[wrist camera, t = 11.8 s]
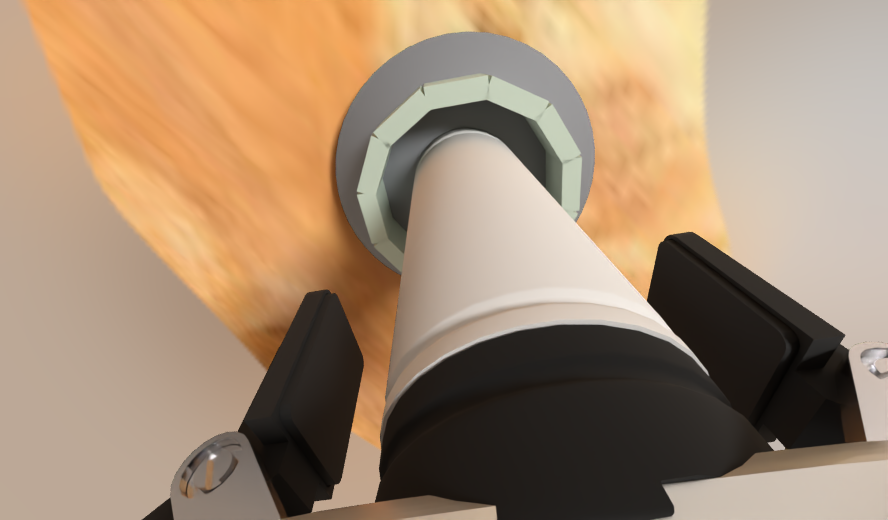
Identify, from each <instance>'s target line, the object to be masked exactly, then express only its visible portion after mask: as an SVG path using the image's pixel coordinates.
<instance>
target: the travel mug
mask: <svg viewBox="0 0 888 520" xmlns="http://www.w3.org/2000/svg"><path fill="white" fill-rule="evenodd" d="M385 400H386V405H385V409H384V414H383V419H382V425H381V433H380V441H381V457H380V465H379V472H380V479H381V482H380V484H379V488H378V492H377V496H376V500H375V503H376V502H383V501H389V500H397V499H404V498H412V497H419V496H427V495H431V496H435V497H440V498H445V499H449V500H453V501H460V502H469V503H478V504H486V505H493V506H496V514H497V520H654V519H660V518H665V517H671V516H672V515H673V514H674V505H673V503H672V501H671V500H670V498H669V496H668V494H667V493H666V491H665V489H664V487H663V485H662V484H667V483H675V482H682V481H690V480H698V479H707V478H715V477H722V476H723V475H725V474H727V473H729V472H731V471H733V470H734V469H736V468H739V467H741V466H743V465H744V463H745V462H747V461H748V460H749V459H750V458H751V457H752V456H753V455H754V454H755V453H761V452H770V451H774V450H773V449H772V448H771V447H770V445H769V444H768V443H767V442H766V441H765V440H764V438H763V437H762V436H761V435H760V434H759V433H758V431H757V430H756V429H755V428H754V427H753V426H752V424H751V423H750V422H749V421H748V420H747V419H746V418H745V416H743V415H742V414H740V413H739V412H737V411H735V410H734V409H732V406H731V403H730V402H729V400H728V399H727V398H726V396H725V395H724V394H723V393H722V391H721V390H720V389H719V388H718V386H717V385H716V384H715V383H714V381H713V380H712V379H711V378H710V377H709V374H708V371H707V370H706V369H705V367H704V366H703V365H702V364H701V362H700V361H699V360H698V358H697V357H696V356H695V355H694V353H693V352H692V351H691V350H690V349H689V348H688V347H687V345H686V344H685V343H684V342H683V341H682V340H681V339H680V338H679V337H678V336H676V335H675V334H674V333H673V332H672V330H671V329H670V328H669V327H668V325H667V324H666V323H665V322H664V320H663V319H662V318H661V317H660V316H659V314H658V313H657V312H656V311H655V310H654V309H653V308H652V307H651V306H650V304H649V303H648V302H647V301H646V300H645V299H644V298H643V297H642V296H641V294H640V293H639V292H638V291H637V290H636V289H635V288H634V287H633V286H632V284H631V283H630V282H629V281H628V280H627V279H626V278H625V277H624V276H623V274H622V273H621V272H620V271H619V270H618V269H617V268H616V267H615V266H614V265H613V263H612V262H611V261H610V260H609V259H608V258H607V257H606V256H605V255H604V253H603V252H602V251H601V250H600V249H599V248H598V247H597V246H596V245H595V243H594V242H593V241H592V240H591V239H590V238H589V237H588V236H587V235H586V233H585V232H584V231H583V230H582V229H581V228H580V227H579V226H578V225H577V223H576V222H575V221H574V220H573V219H572V218H571V217H570V216H569V215H568V213H567V212H566V211H565V210H564V209H563V208H562V207H561V206H560V205H559V204H558V202H557V201H556V200H555V199H554V198H553V197H552V196H551V195H550V194H549V192H548V191H547V190H546V189H545V188H544V187H543V186H542V185H541V184H540V182H539V181H538V180H537V179H536V178H535V177H534V176H533V175H532V174H531V172H530V171H529V170H528V169H527V168H526V167H525V166H524V165H523V164H522V162H521V161H520V160H519V159H518V158H517V157H516V156H515V155H514V154H513V152H512V151H511V150H510V149H509V148H508V147H507V146H506V145H505V144H504V143H503V141H502V140H500V139H499V138H498V137H496V136H495V135H494V134H492V133H490V132H488V131H486V130H482V129H478V128H471V127H463V128H457V129H452V130H450V131H447V132H445V133H443V134H441V135H440V136H438V137H437V138H435V139H434V140H433V141H432V142H431V143H430V144H429V145H428V146H427V147H426V148H425V150H424V151H423V153H422V154H421V156H420V158H419V161H418V163H417V166H416V171H415V177H414V185H413V192H412V200H411V207H410V215H409V222H408V230H407V237H406V245H405V252H404V260H403V267H402V275H401V282H400V290H399V297H398V305H397V313H396V320H395V328H394V335H393V343H392V350H391V358H390V365H389V373H388V380H387V388H386V395H385Z"/></svg>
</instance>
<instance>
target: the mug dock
mask: <svg viewBox="0 0 888 520" xmlns="http://www.w3.org/2000/svg"><path fill="white" fill-rule="evenodd" d="M463 127H471V128H478V129H482V130H486V131H488V132H490V133H492V134H494V135H495V136H496V137H498V138H499V139H500V140H502V141H503V143H504V144H505V145H506V146H507V147H508V148H509V149H510V150H511V151H512V152H513V154H514V155H515V156H516V157H517V158H518V159H519V160H520V161H521V162H522V164H523V165H524V166H525V167H526V168H527V169H528V170H529V171H530V172H531V174H532V175H533V176H534V177H535V178H536V179H537V180H538V181H539V182H540V184H541V185H542V186H543V187H544V188H545V189H546V190H547V191H548V192H549V194H550V195H551V196H552V197H553V198H554V199H555V200H556V201H557V202H558V204H559V205H560V206H561V207H562V208H563V209H564V210H565V211H566V212H567V213H568V215H569V216H570V217H571V218H572V219H573V220H574V221H575V222H577V220H578V218H579V216H580V214H581V212H582V210H583V208H584V205H585V203H586V200H587V198H588V195H589V191H590V187H591V184H592V179H593V172H594V164H595V146H594V139H593V131H592V127H591V123H590V120H589V116H588V113H587V110H586V108H585V106H584V104H583V101H582V99H581V97H580V95H579V94H578V92H577V90H576V89H575V87H574V86H573V84H572V83H571V81H570V80H569V79H568V77H567V76H566V75H565V74H564V73H563V72H562V71H561V70H560V68H559V67H558V66H557V65H555V64H554V63H553V62H552V61H551V60H549V59H548V58H547V57H546V56H545V55H543V54H542V53H540V52H538V51H537V50H535V49H533V48H532V47H530V46H528V45H526V44H524V43H522V42H519V41H516V40H514V39H511V38H509V37H505V36H501V35H496V34H491V33H483V32H460V33H451V34H444V35H441V36H437V37H433V38H430V39H426V40H424V41H421V42H419V43H417V44H415V45H413V46H410V47H408V48H406V49H405V50H403V51H402V52H400V53H398V54H397V55H395V56H394V57H392V58H391V59H389V60H388V61H387V62H386V63H385V64H384V65H382V66H381V67H380V68H379V69H378V70H377V71H376V72H374V74H373V75H372V76H371V77H370V78H369V79H368V81H367V82H366V83H365V84H364V85H363V86H362V88H361V89H360V91H359V92H358V94H357V96H356V97H355V99H354V100H353V102H352V104H351V106H350V108H349V110H348V112H347V115H346V117H345V119H344V121H343V125H342V128H341V132H340V135H339V139H338V145H337V152H336V180H337V188H338V193H339V197H340V200H341V204H342V207H343V210H344V212H345V215H346V217H347V220H348V222H349V223H350V225H351V227H352V229H353V231H354V232H355V234H356V235H357V237H358V238H359V239H360V241H361V242H362V243H363V245H364V246H365V247H366V248H367V249H368V250H369V251H370V252H371V253H372V254H373V256H374V257H376V258H377V259H378V260H379V261H380V262H382V263H383V264H384V265H385V266H387V267H388V268H390V269H391V270H393V271H395V272H396V273H398V274H400V275H402V267H403V260H404V252H405V245H406V237H407V230H408V222H409V215H410V207H411V200H412V192H413V185H414V177H415V171H416V166H417V163H418V161H419V158H420V156H421V154H422V153H423V151H424V150H425V148H426V147H427V146H428V145H429V144H430V143H431V142H432V141H433V140H434V139H435V138H437V137H438V136H440V135H441V134H443V133H445V132H447V131H450V130H452V129H457V128H463Z"/></svg>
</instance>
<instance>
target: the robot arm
mask: <svg viewBox="0 0 888 520" xmlns="http://www.w3.org/2000/svg"><path fill="white" fill-rule="evenodd" d="M647 302H648V303H649V304H650V306H651V307H652V308H653V309H654V310H655V311H656V312H657V313H658V314H659V316H660V317H661V318H662V319H663V320H664V322H665V323H666V324H667V325H668V327H669V328H670V329H671V330H672V332H673V333H674V334H675V335H676V336H678V337H679V338H680V339H681V340H682V341H683V342H684V343H685V344H686V345H687V347H688V348H689V349H690V350H691V351H692V352H693V353H694V355H695V356H696V357H697V358H698V360H699V361H700V362H701V364H702V365H703V366H704V367H705V369H706V370H707V371H708V374H709V377H710V378H711V379H712V380H713V381H714V383H715V384H716V385H717V386H718V388H719V389H720V390H721V391H722V393H723V394H724V395H725V396H726V398H727V399H728V400H729V402H730V403H731V406H732V409H734V410H735V411H737V412H739V413H740V414H742V415H743V416H745V418H746V419H747V420H748V421H749V422H750V423H751V424H752V426H753V427H754V428H755V429H756V430H757V431H758V433H759V434H760V435H761V436H762V437H763V438H764V440H765V441H766V442H774V441H775V440H776V438H777V439H778V440H779V441H780V442H781V443H782V444H783V445H784V447H785V450H778V451H770V452H761V453H755V454H754V455H753V456H752V457H751V458H750V459H749V460H748V461H747V462H745V463H744V465H743V466H741V467H739V468H736V469H734V470H733V471H731V472H729V473H727V474H725V475H723V476H722V477H715V478H707V479H698V480H690V481H682V482H675V483H667V484H662V485H663V487H664V489H665V491H666V493H667V494H668V496H669V498H670V500H671V501H672V503H673V505H674V514H673V515H672V516H671V517H665V518H660V519H654V520H888V343H883V342H863V343H859V344H855V345H854V346H853V347H852V348H850V349H849V350H848V349H847V348H845V347H844V346H842V345H841V344H840V343H841V341H842V340H843V338H844V337H845V334H843V333H842V332H840V331H839V330H837V329H836V328H834V327H833V326H831V325H830V324H829V323H827V322H826V321H824V320H823V319H821V318H820V317H818V316H817V315H815V314H814V313H812V312H811V311H809V310H808V309H806V308H805V307H803V306H802V305H800V304H799V303H797V302H796V301H794V300H793V299H792V298H790V297H789V296H787V295H786V294H784V293H783V292H781V291H780V290H778V289H777V288H775V287H774V286H772V285H771V284H769V283H768V282H766V281H765V280H763V279H762V278H760V277H759V276H758V275H756V274H754V273H753V272H752V271H750V270H749V269H747V268H746V267H744V266H743V265H741V264H740V263H738V262H737V261H735V260H734V259H732V258H731V257H729V256H728V255H726V254H725V253H723V252H722V251H721V250H719V249H718V248H716V247H715V246H713V245H712V244H710V243H709V242H707V241H706V240H704V239H703V238H701V237H700V236H698V235H697V234H695V233H693V232H686V233H680V234H673V235H669V236H667V237H666V238H665V239H664V241H663V242H661V243H660V244H659V247H658V251H657V256H656V261H655V265H654V270H653V275H652V279H651V284H650V289H649V293H648V298H647ZM363 366H364V361H363V356H362V353H361V351H360V348H359V346H358V344H357V341H356V339H355V336H354V334H353V332H352V329H351V327H350V324H349V322H348V320H347V317H346V315H345V312H344V310H343V308H342V305H341V303H340V301H339V298H338V296H337V295H336V294H335V293H333V294H331V292H330V291H329V290H320V291H314V292H309V293H307V294H306V295H305V297H304V299H303V301H302V303H301V305H300V307H299V310H298V312H297V314H296V316H295V318H294V320H293V322H292V324H291V326H290V328H289V330H288V332H287V334H286V336H285V338H284V340H283V342H282V344H281V346H280V347H279V349H278V351H277V353H276V355H275V357H274V359H273V361H272V363H271V365H270V367H269V369H268V371H267V373H266V375H265V377H264V379H263V381H262V383H261V385H260V387H259V389H258V391H257V393H256V395H255V398H254V399H253V401H252V404H251V406H250V407H249V409H248V412H247V414H246V416H245V418H244V420H243V422H242V424H241V426H240V428H239V430H238V432H226V433H223V434H220V435H217V436H215V437H213V438H211V439H210V440H208V441H206V442H204V443H203V444H202V445H201V446H200V447H198V448H197V449H196V450H194V451H193V452H192V453H191V455H189V457H188V458H187V459H186V460H185V461H184V462H183V463H182V465H181V466H180V468H179V469H178V471H177V472H176V474H175V477H174V479H173V482H172V484H171V494H170V496H171V497H170V498H169V499H168V500H166V501H165V502H164V503H163V504H161V505H160V506H159V507H157V508H156V509H155V510H154V511H152V512H151V513H150V514H149V515H147V516H146V517H145V518H144V519H142V520H497V514H496V506H493V505H486V504H478V503H469V502H460V501H453V500H449V499H445V498H440V497H435V496H431V495H427V496H419V497H412V498H404V499H397V500H389V501H383V502H376V503H370V504H363V505H357V506H350V507H344V508H338V509H331V510H324V511H319V512H313V513H311V512H312V508H313V504H314V501H320V500H329V499H332V494H333V489H334V485H335V484H339V483H340V481H341V478H342V473H343V468H344V463H345V458H346V453H347V448H348V443H349V438H350V433H351V428H352V423H353V418H354V413H355V408H356V403H357V397H358V392H359V387H360V382H361V377H362V372H363Z"/></svg>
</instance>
